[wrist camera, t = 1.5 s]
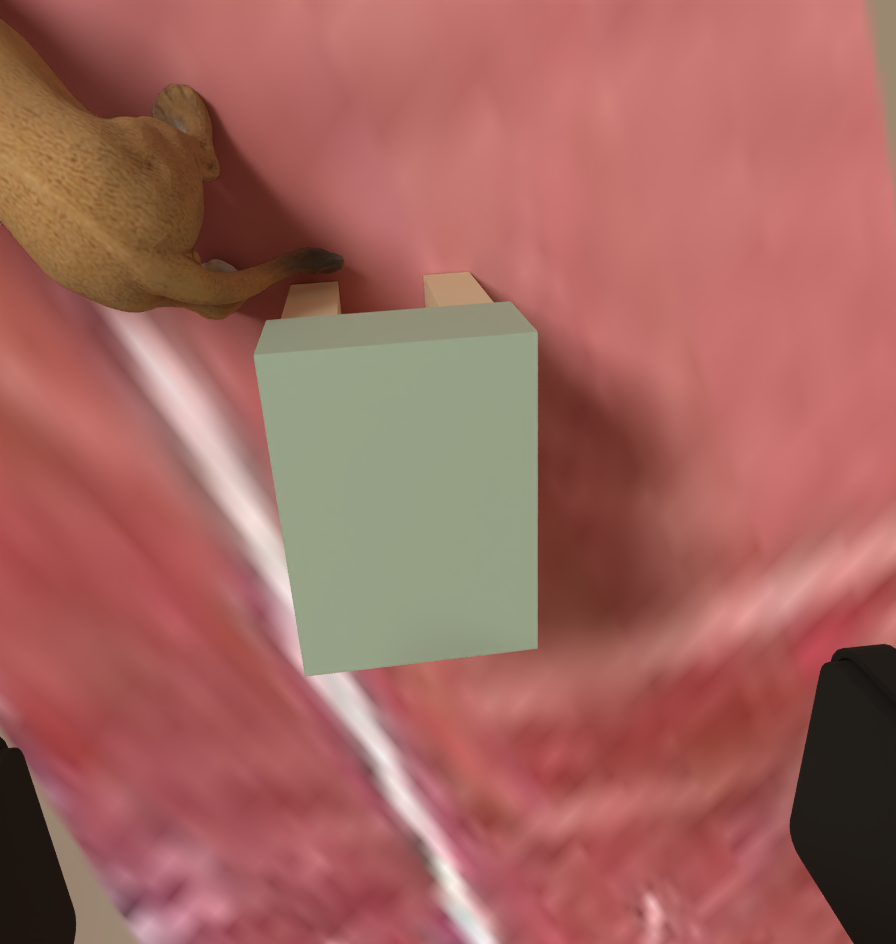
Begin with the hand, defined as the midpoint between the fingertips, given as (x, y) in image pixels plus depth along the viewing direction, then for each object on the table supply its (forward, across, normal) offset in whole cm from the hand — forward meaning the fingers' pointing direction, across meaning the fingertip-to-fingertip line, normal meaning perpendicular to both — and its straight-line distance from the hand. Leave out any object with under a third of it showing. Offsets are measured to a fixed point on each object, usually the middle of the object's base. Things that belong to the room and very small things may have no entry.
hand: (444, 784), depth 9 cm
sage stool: (+14, 0, 0) cm, 14 cm away
